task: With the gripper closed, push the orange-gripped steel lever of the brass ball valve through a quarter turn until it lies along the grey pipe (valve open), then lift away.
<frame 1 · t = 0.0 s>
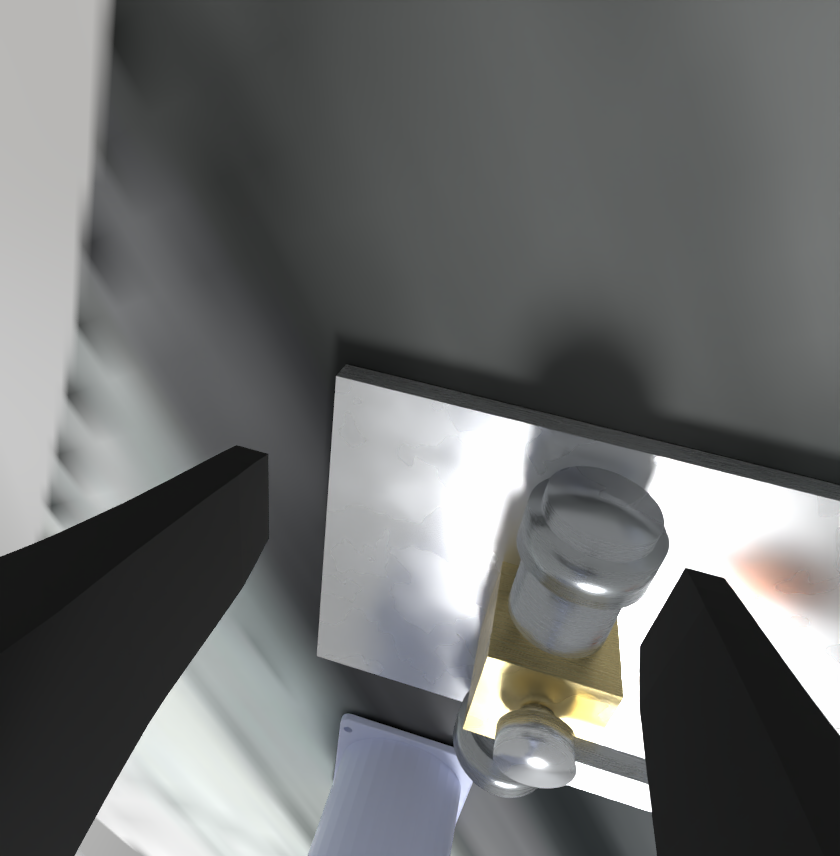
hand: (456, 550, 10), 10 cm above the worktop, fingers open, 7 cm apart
valve rig: (544, 595, 24), on the worktop
lever: (712, 805, 17), point 7 cm above the worktop, hinge at -90.0°
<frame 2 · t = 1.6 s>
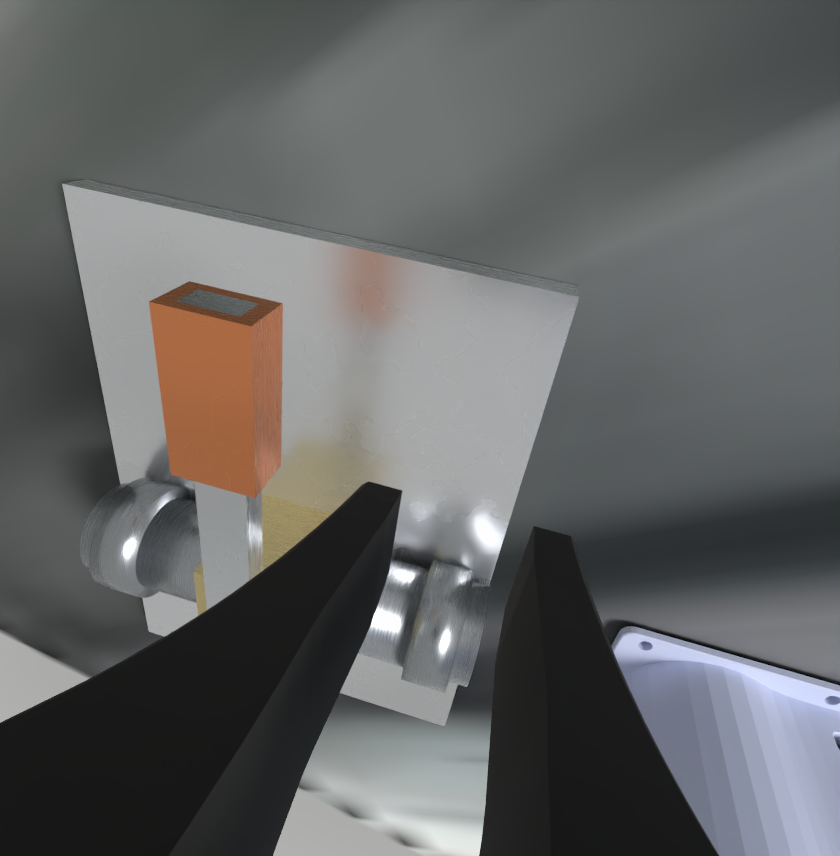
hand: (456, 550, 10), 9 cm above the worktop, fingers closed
valve rig: (316, 530, 24), on the worktop
lever: (231, 541, 15), point 7 cm above the worktop, hinge at -90.0°
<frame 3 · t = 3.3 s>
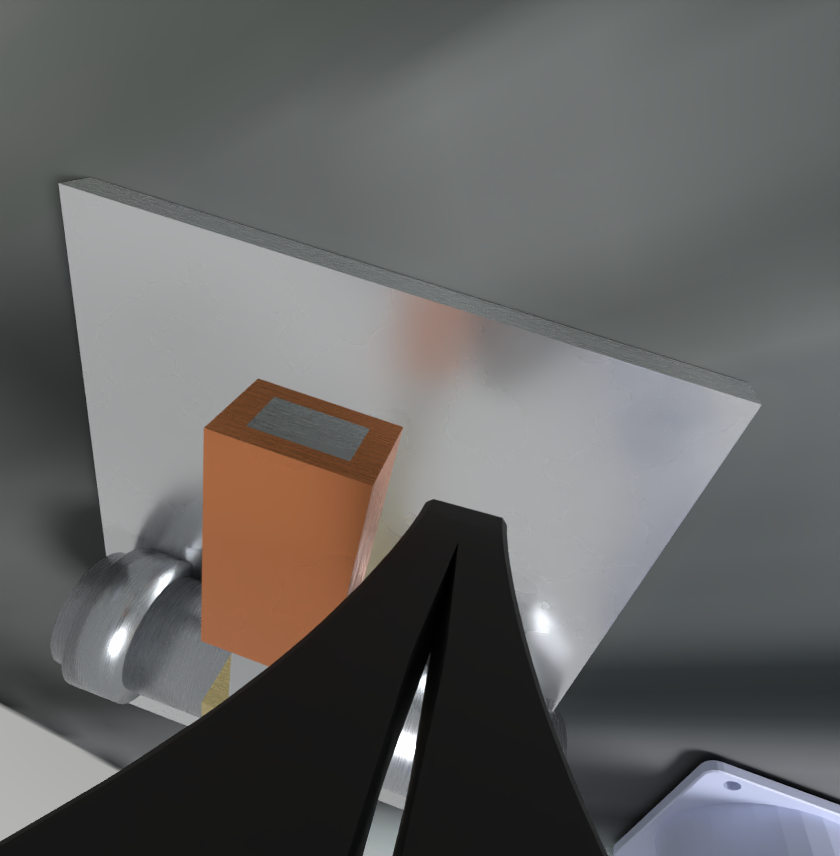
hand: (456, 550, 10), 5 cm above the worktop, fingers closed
valve rig: (343, 617, 20), on the worktop
lever: (270, 705, 11), point 7 cm above the worktop, hinge at -90.0°, touching gripper
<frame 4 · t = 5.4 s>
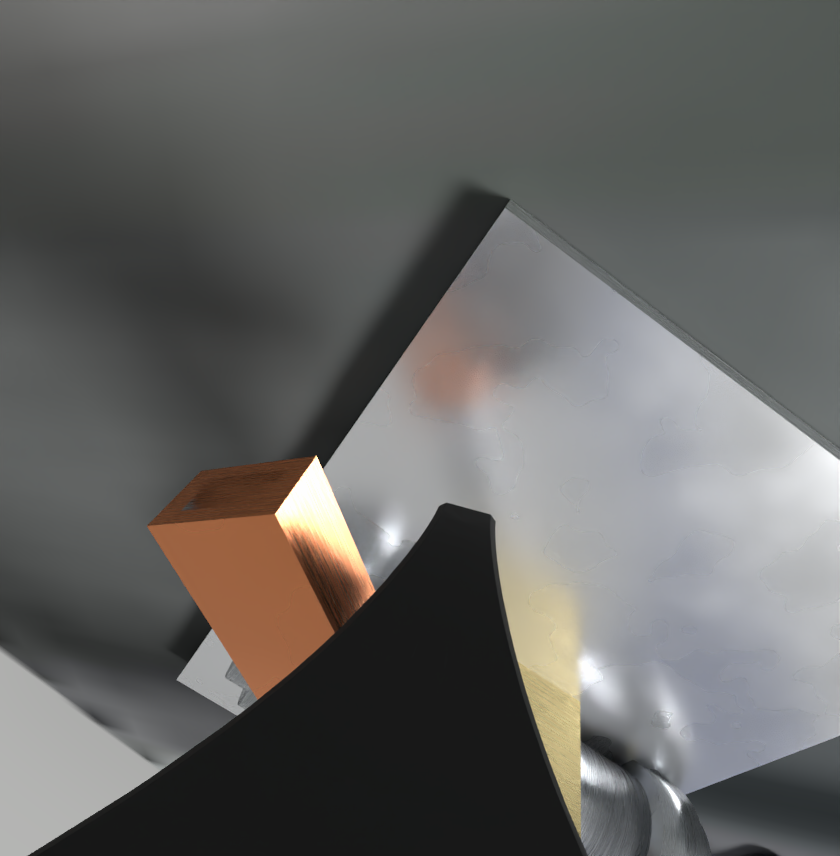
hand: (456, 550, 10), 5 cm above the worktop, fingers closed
valve rig: (486, 667, 19), on the worktop
lever: (379, 764, 11), point 7 cm above the worktop, hinge at -40.6°, touching gripper
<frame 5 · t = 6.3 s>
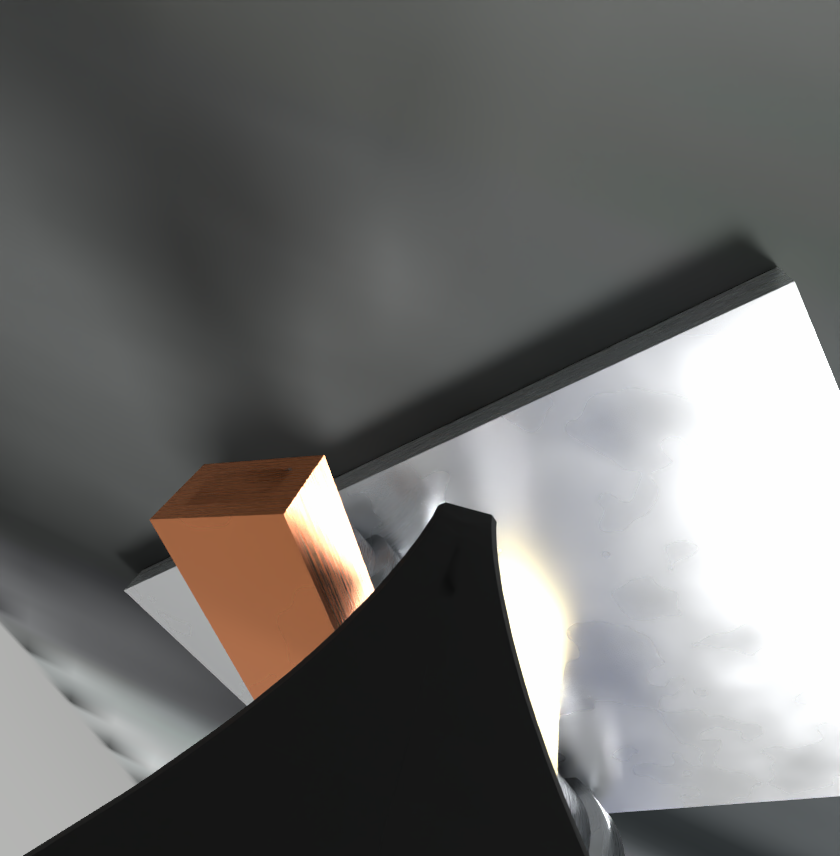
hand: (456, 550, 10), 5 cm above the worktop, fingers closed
valve rig: (471, 665, 19), on the worktop
lever: (368, 761, 11), point 7 cm above the worktop, hinge at -21.1°, touching gripper
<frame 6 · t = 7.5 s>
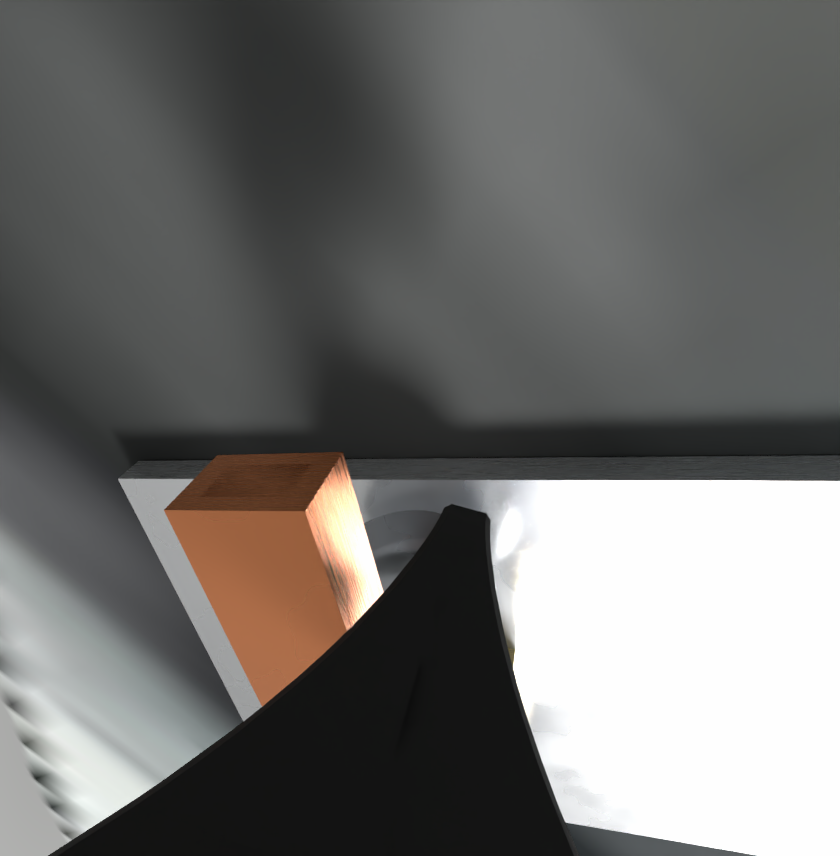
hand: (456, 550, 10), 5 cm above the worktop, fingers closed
valve rig: (459, 661, 19), on the worktop
lever: (363, 757, 11), point 7 cm above the worktop, hinge at 0.8°, touching gripper
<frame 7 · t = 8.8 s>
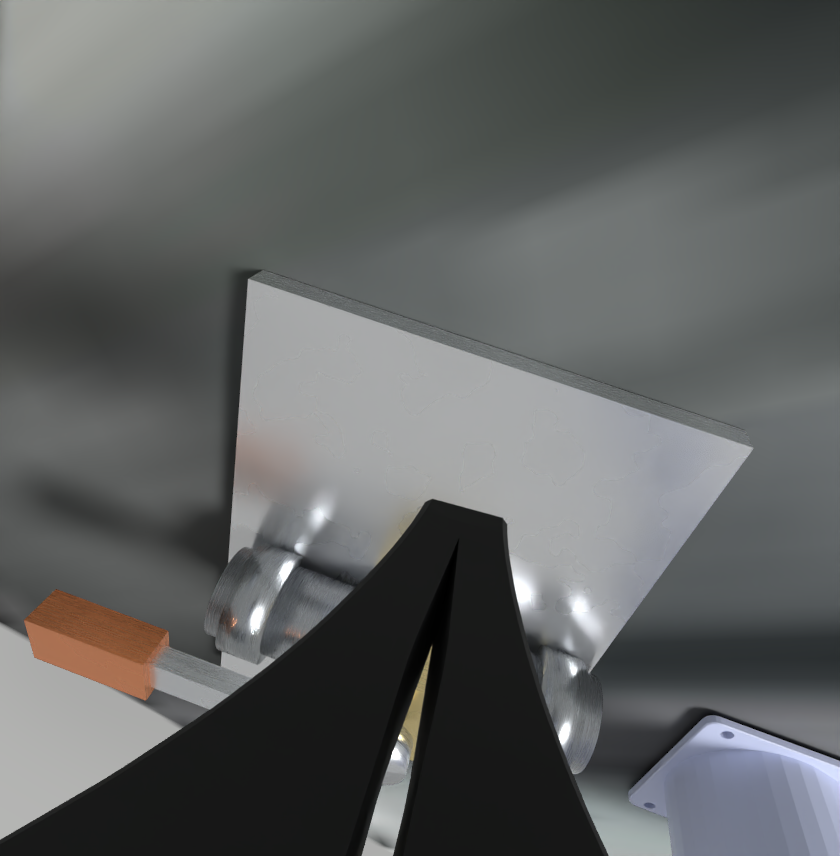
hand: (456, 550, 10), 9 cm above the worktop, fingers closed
valve rig: (418, 600, 25), on the worktop
lever: (222, 690, 20), point 7 cm above the worktop, hinge at 0.8°
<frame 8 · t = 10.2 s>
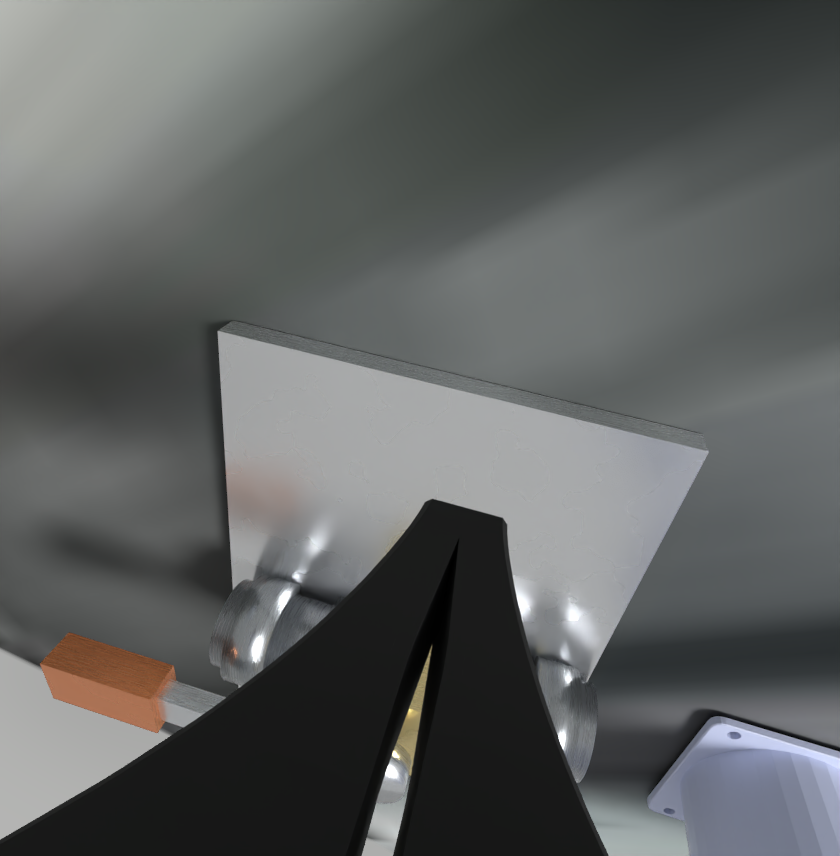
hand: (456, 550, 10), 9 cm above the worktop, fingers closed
valve rig: (417, 619, 25), on the worktop
lever: (227, 719, 20), point 7 cm above the worktop, hinge at 0.8°
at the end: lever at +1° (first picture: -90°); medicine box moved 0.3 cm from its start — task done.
